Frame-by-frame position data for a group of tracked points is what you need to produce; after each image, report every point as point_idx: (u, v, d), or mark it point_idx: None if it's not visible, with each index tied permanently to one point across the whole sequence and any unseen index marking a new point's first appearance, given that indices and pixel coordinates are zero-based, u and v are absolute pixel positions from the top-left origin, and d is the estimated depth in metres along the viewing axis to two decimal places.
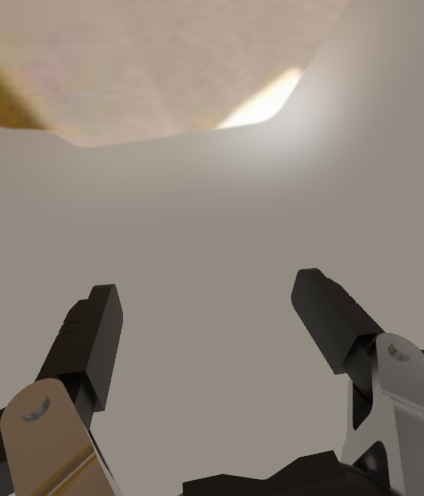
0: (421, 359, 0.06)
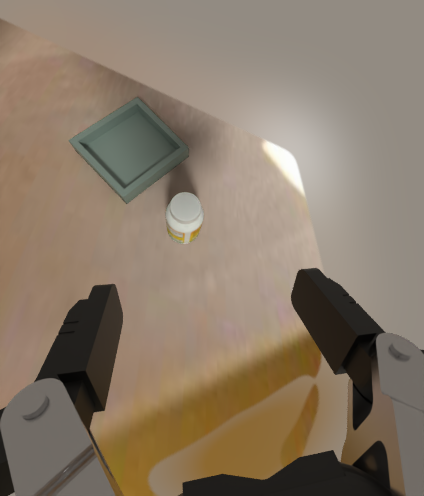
0: (421, 359, 0.06)
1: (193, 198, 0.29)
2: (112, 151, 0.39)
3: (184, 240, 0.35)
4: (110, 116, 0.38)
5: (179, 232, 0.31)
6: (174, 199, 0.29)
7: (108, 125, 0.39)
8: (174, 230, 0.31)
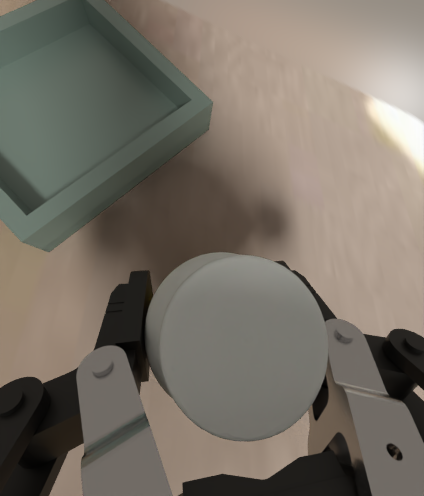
0: (362, 342, 0.07)
1: (283, 289, 0.06)
2: (15, 113, 0.15)
3: None
4: (5, 19, 0.14)
5: None
6: (185, 304, 0.05)
7: (3, 45, 0.15)
8: None
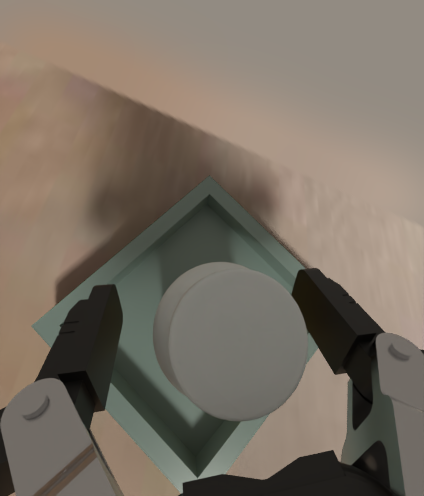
0: (421, 359, 0.06)
1: (271, 297, 0.07)
2: (151, 323, 0.15)
3: None
4: (145, 235, 0.14)
5: None
6: (189, 309, 0.06)
7: (140, 257, 0.15)
8: None
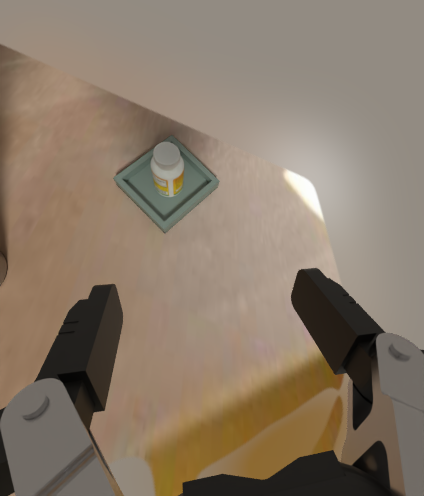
0: (421, 359, 0.06)
1: (173, 147, 0.34)
2: (150, 185, 0.43)
3: (168, 191, 0.40)
4: (148, 154, 0.42)
5: (163, 179, 0.36)
6: (157, 147, 0.34)
7: (146, 162, 0.43)
8: (158, 177, 0.36)
